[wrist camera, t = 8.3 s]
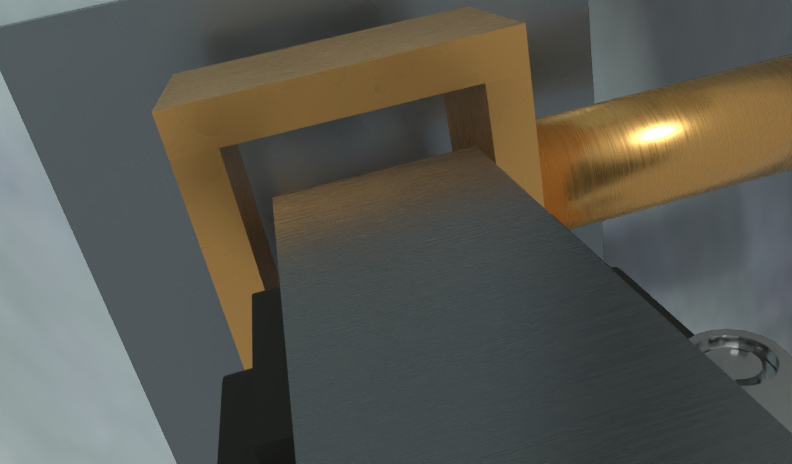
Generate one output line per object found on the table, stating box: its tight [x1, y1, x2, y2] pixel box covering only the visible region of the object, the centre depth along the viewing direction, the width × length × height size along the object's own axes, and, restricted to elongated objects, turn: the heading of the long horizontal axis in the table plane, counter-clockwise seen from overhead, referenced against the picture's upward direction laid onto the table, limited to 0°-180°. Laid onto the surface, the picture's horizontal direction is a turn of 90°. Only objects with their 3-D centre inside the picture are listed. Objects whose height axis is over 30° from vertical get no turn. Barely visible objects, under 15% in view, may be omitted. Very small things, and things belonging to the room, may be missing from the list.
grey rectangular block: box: [272, 146, 792, 464], centre depth 9 cm, size 5×4×10 cm
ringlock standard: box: [0, 0, 792, 464], centre depth 19 cm, size 22×23×15 cm
